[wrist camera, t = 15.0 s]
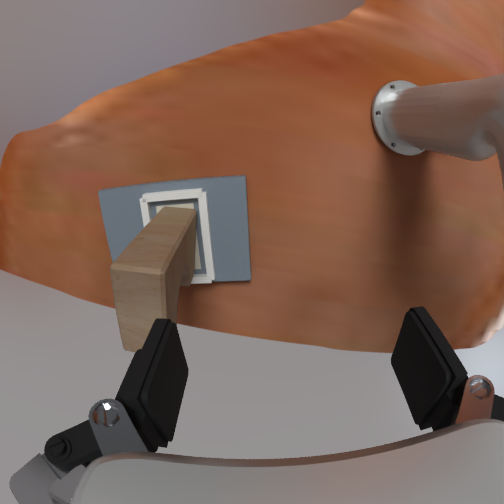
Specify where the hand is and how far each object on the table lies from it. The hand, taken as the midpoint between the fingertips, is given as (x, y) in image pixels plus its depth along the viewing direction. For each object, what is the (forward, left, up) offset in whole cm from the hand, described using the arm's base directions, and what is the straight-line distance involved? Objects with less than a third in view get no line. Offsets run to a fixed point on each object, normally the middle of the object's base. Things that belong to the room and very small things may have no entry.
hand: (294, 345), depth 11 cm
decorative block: (+13, +8, -33) cm, 37 cm away
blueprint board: (+14, +7, -35) cm, 38 cm away
